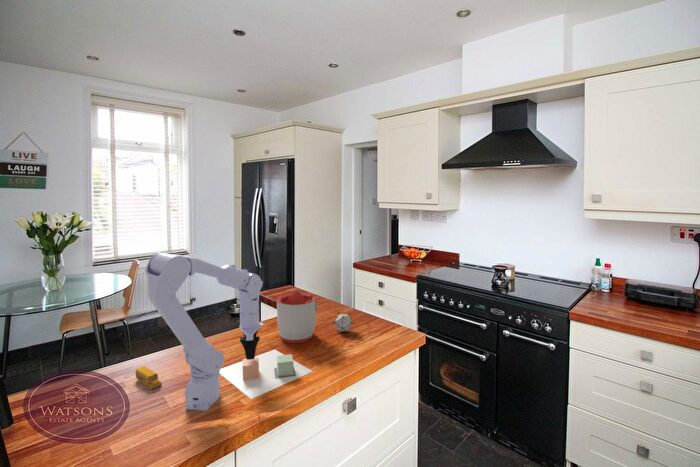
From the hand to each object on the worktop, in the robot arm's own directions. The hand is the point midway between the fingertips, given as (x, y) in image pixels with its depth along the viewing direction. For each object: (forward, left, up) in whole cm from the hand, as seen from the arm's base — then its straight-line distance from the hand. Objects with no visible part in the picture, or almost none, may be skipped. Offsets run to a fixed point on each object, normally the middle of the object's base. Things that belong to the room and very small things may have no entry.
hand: (250, 353), depth 110 cm
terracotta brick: (0, 0, -7) cm, 7 cm away
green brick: (+3, -10, -7) cm, 13 cm away
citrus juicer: (+31, -8, -9) cm, 33 cm away
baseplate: (+3, -3, -8) cm, 9 cm away
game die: (+40, -25, -9) cm, 48 cm away
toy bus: (-6, +30, -9) cm, 32 cm away
